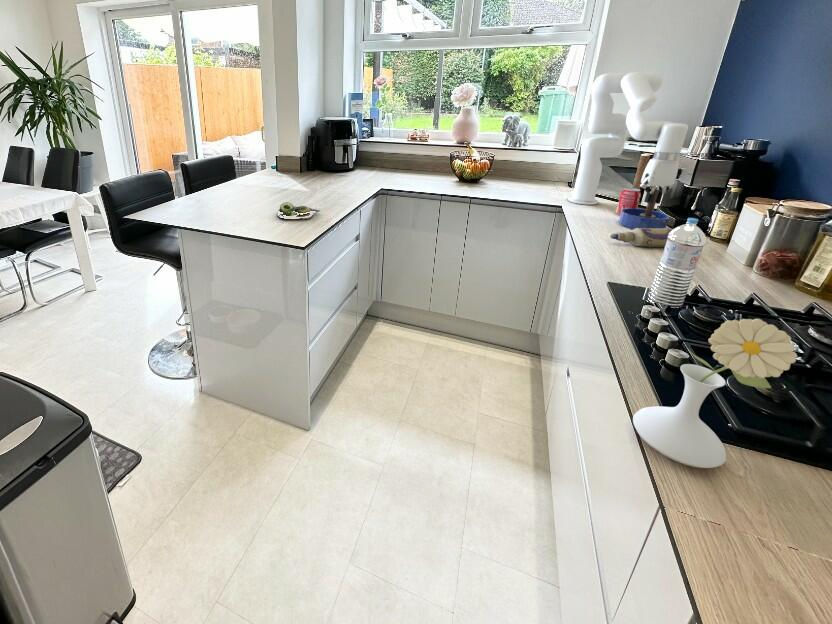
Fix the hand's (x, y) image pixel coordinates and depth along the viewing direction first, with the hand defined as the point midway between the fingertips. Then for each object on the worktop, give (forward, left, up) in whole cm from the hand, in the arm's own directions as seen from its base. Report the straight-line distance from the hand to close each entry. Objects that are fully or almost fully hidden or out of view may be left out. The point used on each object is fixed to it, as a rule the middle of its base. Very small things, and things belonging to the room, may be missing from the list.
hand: (651, 202), depth 159 cm
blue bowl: (-2, 0, -11) cm, 11 cm away
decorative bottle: (+19, -13, -11) cm, 25 cm away
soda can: (-17, +4, -11) cm, 21 cm away
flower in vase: (+107, -75, -11) cm, 131 cm away
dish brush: (0, 0, -9) cm, 9 cm away
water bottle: (+65, -45, -11) cm, 80 cm away
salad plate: (-20, -145, -11) cm, 147 cm away
